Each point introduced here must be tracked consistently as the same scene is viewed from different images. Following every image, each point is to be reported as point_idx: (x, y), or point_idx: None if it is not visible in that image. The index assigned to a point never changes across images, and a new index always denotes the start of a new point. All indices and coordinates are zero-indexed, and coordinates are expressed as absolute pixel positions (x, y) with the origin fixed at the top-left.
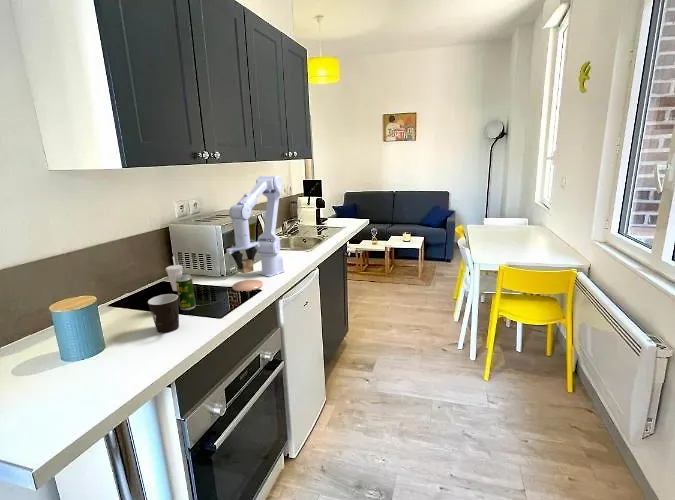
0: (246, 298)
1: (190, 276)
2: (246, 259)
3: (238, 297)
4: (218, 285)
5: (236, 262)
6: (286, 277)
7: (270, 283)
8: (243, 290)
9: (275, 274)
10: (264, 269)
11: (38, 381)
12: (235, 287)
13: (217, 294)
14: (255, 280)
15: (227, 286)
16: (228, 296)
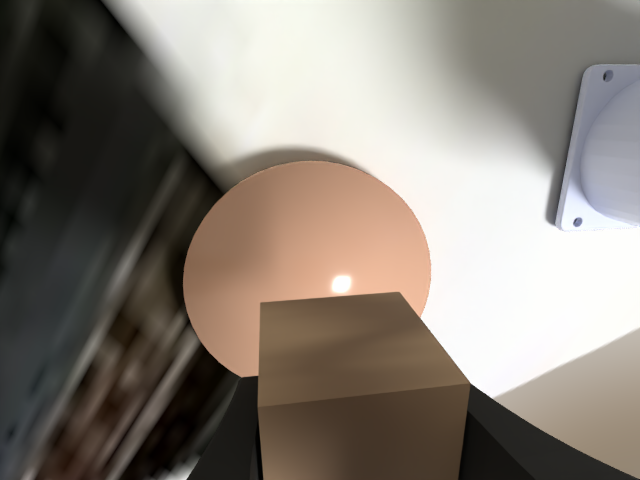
0: (172, 455)
1: None
2: (430, 442)
3: (140, 408)
4: (144, 11)
5: (212, 458)
6: (597, 327)
7: (453, 344)
8: (221, 360)
9: (615, 227)
10: (622, 169)
11: None
12: (202, 273)
13: (33, 239)
14: (415, 256)
15: (198, 126)
16: (91, 344)
